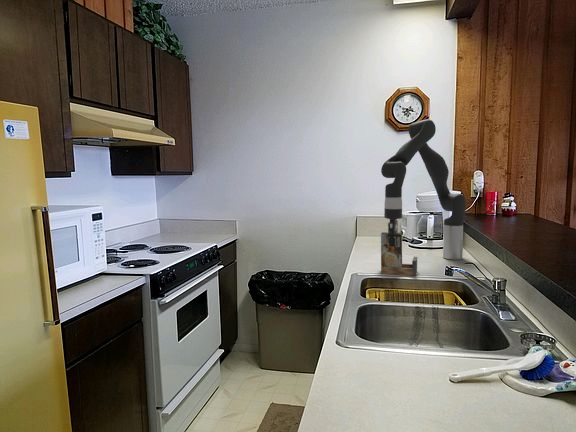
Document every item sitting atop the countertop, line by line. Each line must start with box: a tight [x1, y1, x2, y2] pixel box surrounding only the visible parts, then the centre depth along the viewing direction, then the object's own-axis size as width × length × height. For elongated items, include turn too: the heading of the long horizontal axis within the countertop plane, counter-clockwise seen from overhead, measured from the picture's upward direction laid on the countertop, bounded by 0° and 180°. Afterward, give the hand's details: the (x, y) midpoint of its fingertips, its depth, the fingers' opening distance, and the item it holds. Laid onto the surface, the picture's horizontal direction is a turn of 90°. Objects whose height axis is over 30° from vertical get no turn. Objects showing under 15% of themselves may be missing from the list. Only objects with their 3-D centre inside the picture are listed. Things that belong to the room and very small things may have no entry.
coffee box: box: [380, 231, 403, 268], centre depth 179 cm, size 9×6×16 cm
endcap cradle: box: [380, 256, 418, 277], centre depth 178 cm, size 14×9×7 cm, turn 69°
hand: (392, 244), depth 178 cm, fingers closed on coffee box, 6 cm apart
